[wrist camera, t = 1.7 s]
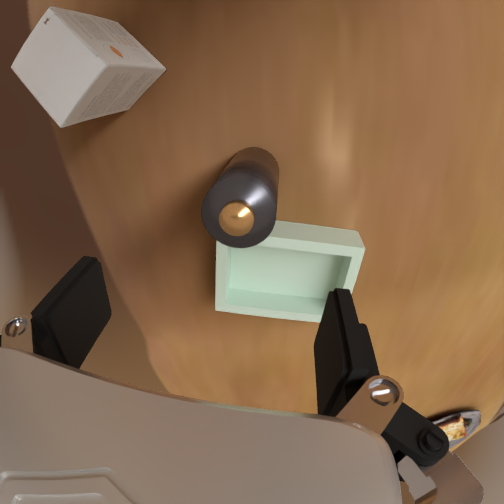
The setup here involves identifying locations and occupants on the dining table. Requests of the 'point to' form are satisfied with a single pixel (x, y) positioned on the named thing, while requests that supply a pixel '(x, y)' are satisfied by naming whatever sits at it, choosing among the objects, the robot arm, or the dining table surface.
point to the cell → (243, 200)
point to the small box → (84, 66)
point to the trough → (287, 271)
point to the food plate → (459, 425)
